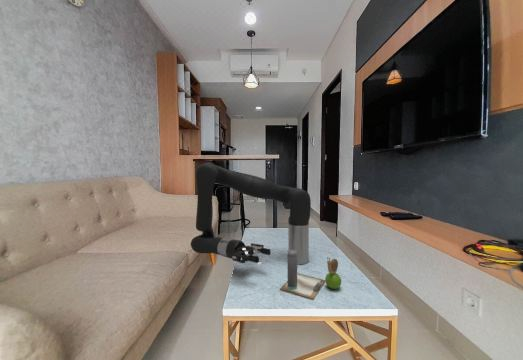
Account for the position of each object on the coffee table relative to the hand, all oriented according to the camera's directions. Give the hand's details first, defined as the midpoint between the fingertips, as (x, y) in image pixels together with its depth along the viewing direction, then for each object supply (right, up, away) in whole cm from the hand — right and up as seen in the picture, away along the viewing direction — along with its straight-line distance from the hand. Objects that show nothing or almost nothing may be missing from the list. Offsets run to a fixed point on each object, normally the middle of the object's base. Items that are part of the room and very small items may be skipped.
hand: (264, 255), depth 86 cm
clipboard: (+14, -10, -3) cm, 17 cm away
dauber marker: (+10, -9, -6) cm, 14 cm away
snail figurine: (+24, -10, -6) cm, 27 cm away
